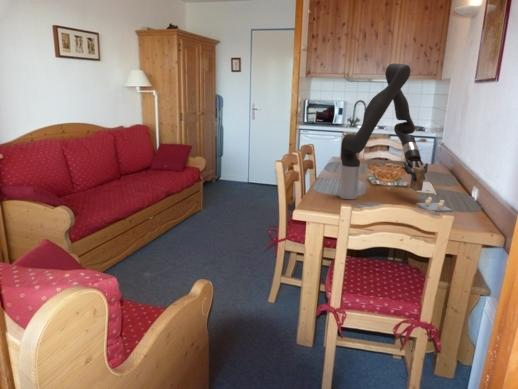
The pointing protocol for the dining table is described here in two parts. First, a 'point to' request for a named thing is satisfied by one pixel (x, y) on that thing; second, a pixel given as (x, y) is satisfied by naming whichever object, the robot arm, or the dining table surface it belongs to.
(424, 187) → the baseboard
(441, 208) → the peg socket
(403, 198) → the dining table surface
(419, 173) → the brown rectangular block
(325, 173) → the dining table surface
